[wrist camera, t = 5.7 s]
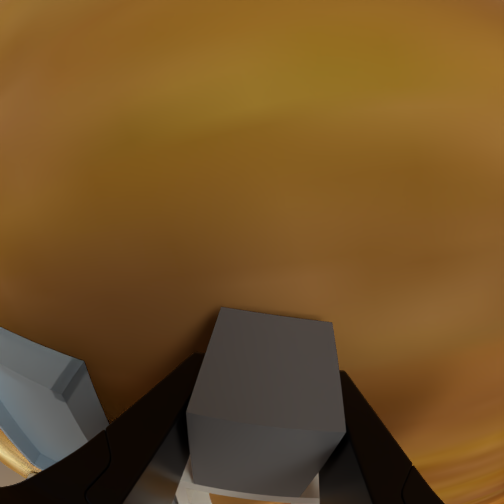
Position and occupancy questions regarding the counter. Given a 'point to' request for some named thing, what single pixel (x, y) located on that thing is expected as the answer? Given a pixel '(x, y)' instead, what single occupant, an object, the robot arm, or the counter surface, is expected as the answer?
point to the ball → (237, 500)
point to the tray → (45, 401)
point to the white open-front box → (263, 410)
